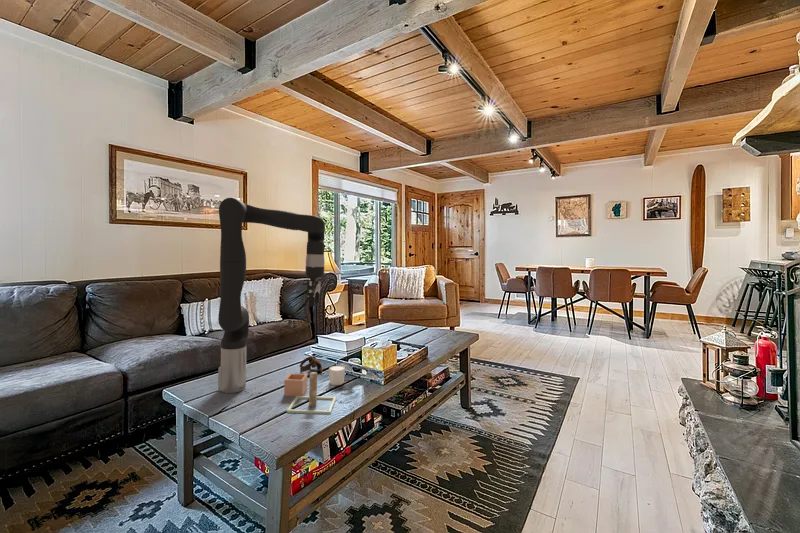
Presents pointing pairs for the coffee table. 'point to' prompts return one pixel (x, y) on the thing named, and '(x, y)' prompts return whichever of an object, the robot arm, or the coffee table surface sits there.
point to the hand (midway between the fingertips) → (314, 304)
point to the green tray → (311, 410)
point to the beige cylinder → (336, 375)
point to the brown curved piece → (310, 364)
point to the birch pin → (313, 389)
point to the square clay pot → (295, 384)
